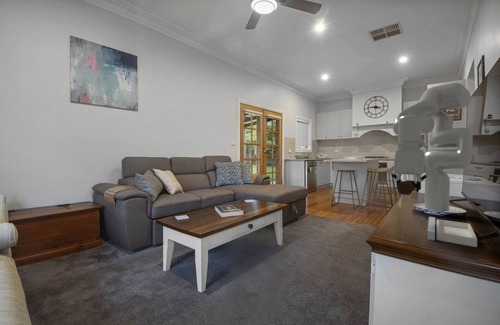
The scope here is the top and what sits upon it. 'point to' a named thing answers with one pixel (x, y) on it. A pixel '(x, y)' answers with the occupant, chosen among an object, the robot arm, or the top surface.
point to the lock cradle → (456, 233)
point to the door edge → (431, 228)
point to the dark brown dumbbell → (406, 187)
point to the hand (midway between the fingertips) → (408, 190)
